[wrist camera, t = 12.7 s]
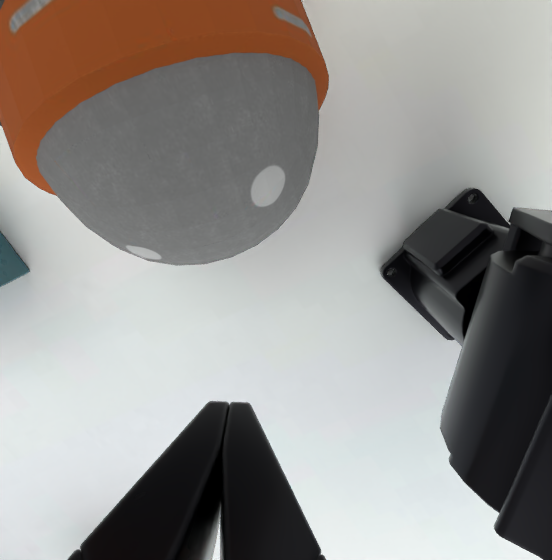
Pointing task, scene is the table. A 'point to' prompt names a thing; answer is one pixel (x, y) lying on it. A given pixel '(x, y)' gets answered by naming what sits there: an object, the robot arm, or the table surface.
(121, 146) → the grenade
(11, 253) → the teal block with ring
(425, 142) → the table surface
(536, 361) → the robot arm
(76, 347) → the table surface
